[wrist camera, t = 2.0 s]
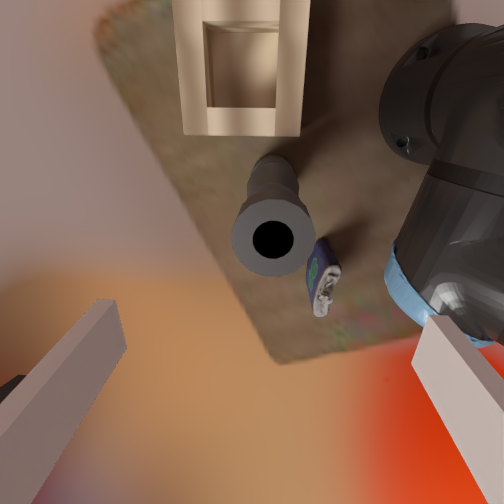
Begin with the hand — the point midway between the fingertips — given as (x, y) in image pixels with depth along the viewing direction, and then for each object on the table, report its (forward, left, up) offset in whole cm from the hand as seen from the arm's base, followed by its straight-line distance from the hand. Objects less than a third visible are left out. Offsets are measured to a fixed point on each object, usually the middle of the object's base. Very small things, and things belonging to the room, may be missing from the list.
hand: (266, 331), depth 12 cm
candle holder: (0, 0, -33) cm, 33 cm away
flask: (-8, +14, -33) cm, 37 cm away
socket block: (+4, -13, -33) cm, 36 cm away
